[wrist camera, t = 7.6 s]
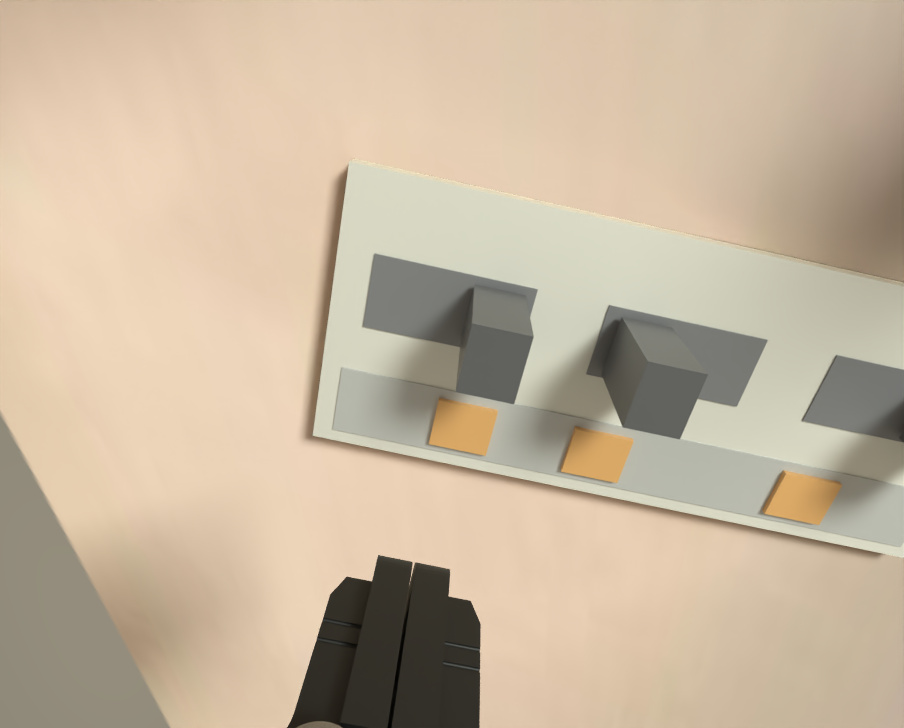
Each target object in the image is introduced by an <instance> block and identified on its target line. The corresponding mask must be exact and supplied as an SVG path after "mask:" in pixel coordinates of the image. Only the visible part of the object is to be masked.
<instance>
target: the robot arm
mask: <svg viewBox="0 0 904 728" xmlns="http://www.w3.org/2000/svg"><path fill="white" fill-rule="evenodd" d="M411 570H412V562H410V561H405V560H400V559H395V558H390V557H385V556H380V555H378V559H377V563H376V567H375V572H374V576H373V580H372V582H371V581H366V580H361V579H356V578H351V577H346V578H345V579H344V580H343V581H342V583H341V584H340V585H339V586H338V587H337V588H336V589H335V590H334V591H333V592H332V593H331V594H330V598H329V601H328V604H327V607H326V611H325V614H324V617H323V621H322V624H321V627H320V630H319V634H318V637H317V641H316V643H315V647H314V650H313V653H312V656H311V660H310V663H309V666H308V670H307V673H306V676H305V679H304V683H303V686H302V689H301V692H300V696H299V699H298V702H297V705H296V709H295V712H294V715H293V717H292V720H291V722H290V723H289V725H288V727H287V728H479V710H480V673H479V670H480V622H479V619H478V617H477V615H476V612H475V610H474V608H473V605H472V603H471V601H468V600H463V599H458V598H453V597H448V594H449V581H450V569H446V568H441V567H436V566H431V565H426V564H421V563H415V565H414V569H413V573H412V577H411ZM410 577H411V581H410ZM409 583H410V585H409Z"/></svg>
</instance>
